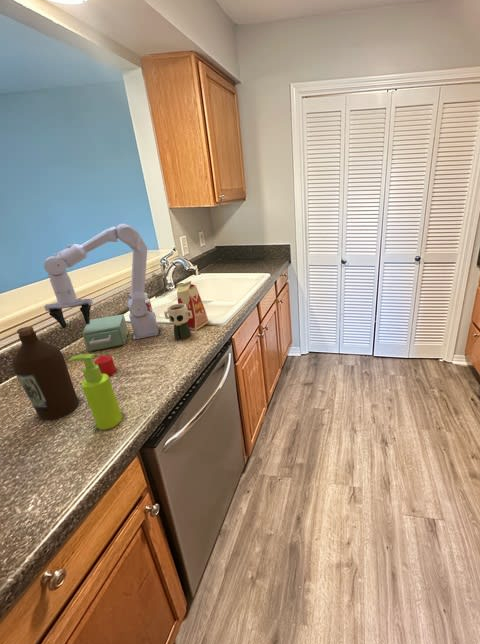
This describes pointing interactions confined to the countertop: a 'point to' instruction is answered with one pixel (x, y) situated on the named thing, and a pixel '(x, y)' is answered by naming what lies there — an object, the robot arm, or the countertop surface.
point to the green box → (108, 326)
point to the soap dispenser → (99, 393)
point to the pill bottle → (148, 303)
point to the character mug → (179, 319)
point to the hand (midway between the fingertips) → (76, 325)
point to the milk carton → (192, 305)
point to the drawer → (103, 339)
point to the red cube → (106, 365)
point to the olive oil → (44, 376)
